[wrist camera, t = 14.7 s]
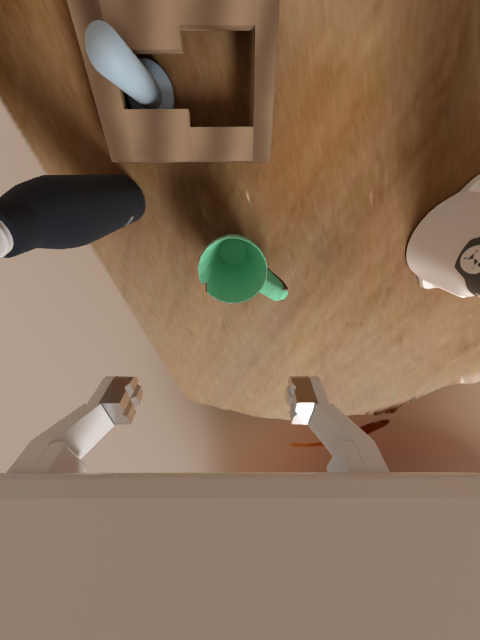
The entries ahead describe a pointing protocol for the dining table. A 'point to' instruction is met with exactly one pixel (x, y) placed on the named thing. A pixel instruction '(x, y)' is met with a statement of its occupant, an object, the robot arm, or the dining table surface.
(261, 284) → the mug
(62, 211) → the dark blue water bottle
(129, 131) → the keyhole board
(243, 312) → the dining table surface
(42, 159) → the dining table surface
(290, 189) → the dining table surface
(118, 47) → the peg
